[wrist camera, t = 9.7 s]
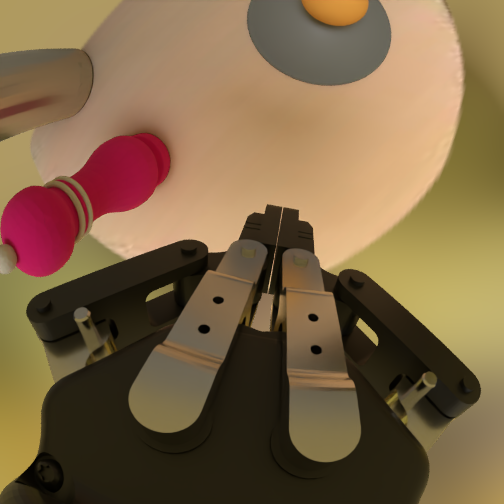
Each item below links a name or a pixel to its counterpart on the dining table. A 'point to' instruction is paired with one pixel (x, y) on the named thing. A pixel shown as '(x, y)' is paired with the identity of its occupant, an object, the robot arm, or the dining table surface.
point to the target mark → (318, 42)
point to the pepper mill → (79, 203)
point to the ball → (336, 10)
